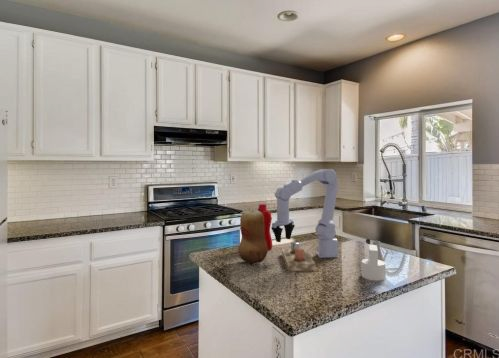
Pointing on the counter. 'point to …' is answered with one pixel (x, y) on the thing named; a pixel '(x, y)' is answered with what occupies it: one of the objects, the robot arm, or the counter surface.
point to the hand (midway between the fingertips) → (283, 240)
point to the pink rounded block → (299, 254)
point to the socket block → (298, 265)
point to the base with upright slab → (373, 265)
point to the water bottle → (266, 224)
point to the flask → (379, 250)
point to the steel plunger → (294, 246)
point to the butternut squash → (252, 237)
